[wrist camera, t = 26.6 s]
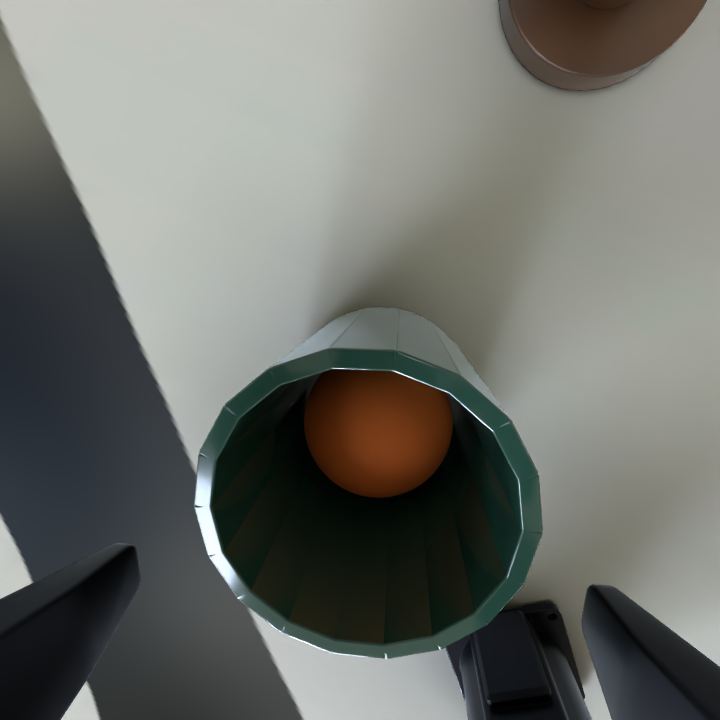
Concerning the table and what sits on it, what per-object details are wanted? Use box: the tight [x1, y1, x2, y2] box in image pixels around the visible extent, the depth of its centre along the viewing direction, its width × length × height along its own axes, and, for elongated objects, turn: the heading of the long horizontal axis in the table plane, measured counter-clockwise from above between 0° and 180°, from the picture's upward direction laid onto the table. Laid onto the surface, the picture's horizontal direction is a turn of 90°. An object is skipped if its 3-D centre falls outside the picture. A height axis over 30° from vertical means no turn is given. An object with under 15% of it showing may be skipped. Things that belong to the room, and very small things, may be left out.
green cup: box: [194, 307, 543, 659], centre depth 14 cm, size 9×9×10 cm
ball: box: [304, 369, 453, 498], centre depth 16 cm, size 6×6×6 cm
